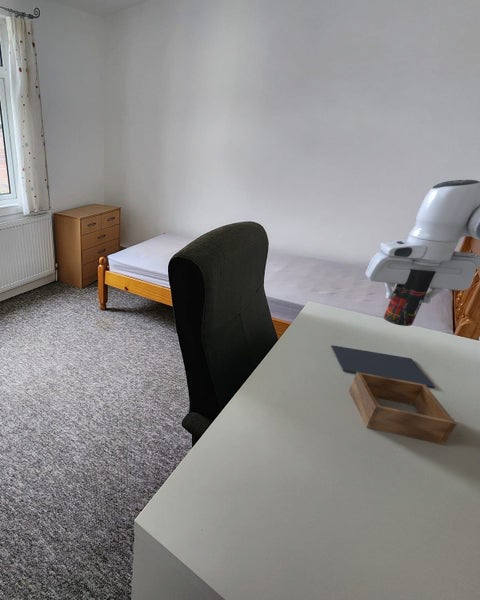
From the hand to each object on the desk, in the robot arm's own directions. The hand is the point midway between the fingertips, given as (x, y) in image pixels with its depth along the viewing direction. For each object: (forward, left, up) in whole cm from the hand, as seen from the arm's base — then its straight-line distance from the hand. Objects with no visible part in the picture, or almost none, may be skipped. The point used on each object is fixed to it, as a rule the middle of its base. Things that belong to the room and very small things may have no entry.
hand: (406, 300), depth 89 cm
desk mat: (0, 0, -21) cm, 21 cm away
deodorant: (0, 0, -6) cm, 6 cm away
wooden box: (+4, +23, -21) cm, 31 cm away
